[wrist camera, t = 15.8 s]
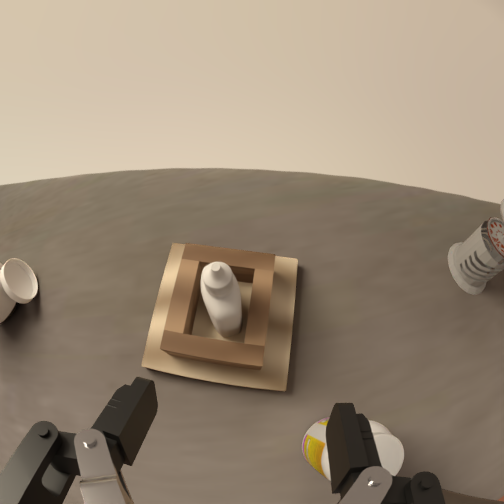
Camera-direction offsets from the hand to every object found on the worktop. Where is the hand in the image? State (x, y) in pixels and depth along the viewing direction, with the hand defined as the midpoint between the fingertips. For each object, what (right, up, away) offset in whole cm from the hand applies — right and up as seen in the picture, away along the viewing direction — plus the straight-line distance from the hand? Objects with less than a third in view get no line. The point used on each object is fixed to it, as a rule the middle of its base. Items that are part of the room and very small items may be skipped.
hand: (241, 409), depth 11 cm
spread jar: (-37, 0, +22) cm, 43 cm away
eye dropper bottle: (-3, 0, +21) cm, 21 cm away
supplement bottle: (+9, -15, +15) cm, 23 cm away
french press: (+37, +4, +26) cm, 46 cm away
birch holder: (-3, -1, +22) cm, 22 cm away
